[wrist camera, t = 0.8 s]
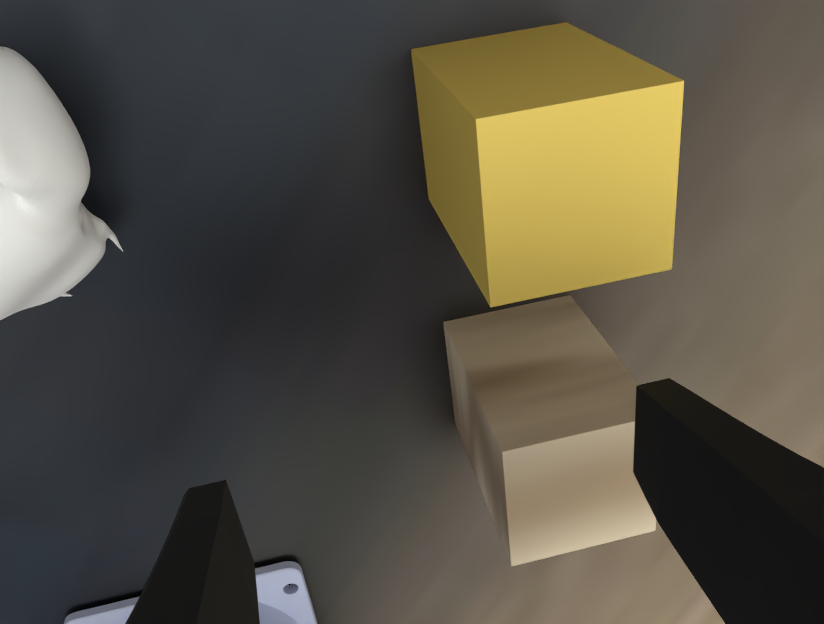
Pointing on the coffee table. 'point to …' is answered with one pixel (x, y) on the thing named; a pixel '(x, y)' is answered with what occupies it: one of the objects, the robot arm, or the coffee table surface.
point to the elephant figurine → (41, 193)
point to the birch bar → (547, 428)
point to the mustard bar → (550, 158)
